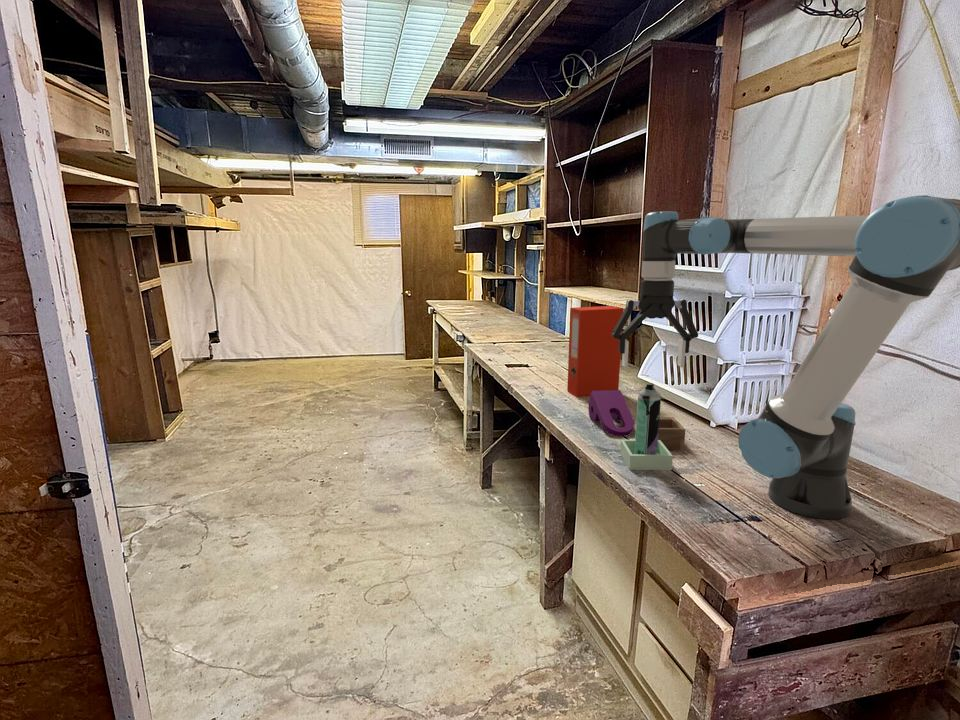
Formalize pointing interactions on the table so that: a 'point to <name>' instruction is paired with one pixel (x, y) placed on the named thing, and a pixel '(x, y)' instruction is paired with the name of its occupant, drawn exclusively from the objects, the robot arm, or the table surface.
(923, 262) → the robot arm
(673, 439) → the brown open-top box
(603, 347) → the file binder
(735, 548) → the table surface
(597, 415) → the mounting bracket
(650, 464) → the parts tray
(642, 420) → the spray can
